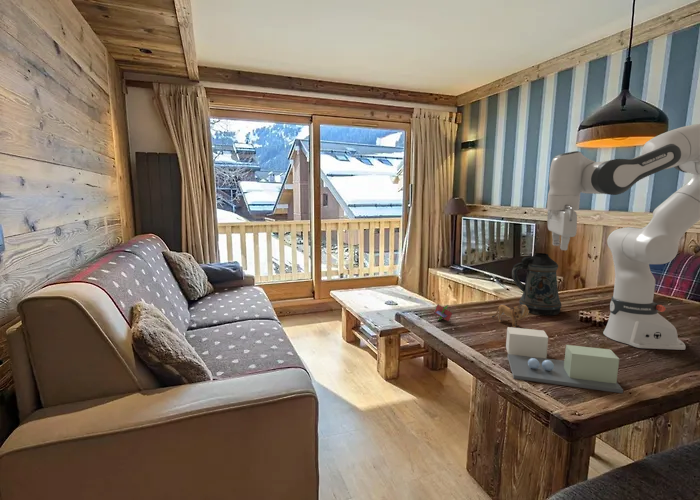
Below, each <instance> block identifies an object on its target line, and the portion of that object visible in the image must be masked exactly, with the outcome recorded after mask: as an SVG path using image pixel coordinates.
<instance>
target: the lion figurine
mask: <svg viewBox="0 0 700 500" xmlns="http://www.w3.org/2000/svg"><path fill="white" fill-rule="evenodd" d="M529 314H530V313H529V310H528V307H527V306H526V305H520V304H519V305H517V306H513V307H508V306H507V305H505V304H500V305H498V307H497V310H496V313H495V314H494V315H492V316H491V318H496V316H497V319H498V323H503V320H502V315H505V316H506V317H507V318H510V319H511V327H513V328H517V327H518V326H519V324H520V323H518V321H521V320H523V319H524V318H527V317H528V315H529Z"/></svg>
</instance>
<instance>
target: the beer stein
mask: <svg viewBox="0 0 700 500" xmlns="http://www.w3.org/2000/svg"><path fill="white" fill-rule="evenodd" d="M520 260H521V262H517V263H516V264H514V265H513V268H512V270H511V276H512V280H513V282H514V284H515V285H516V287H518V289H520V290H521V291H522V294H521V296H520V298H519V301H518V302H519V305H526V306H527V307H528V310H529V313H528V314H531V315H537V316H557V315H559V314H560V313H561V312H560V311H561V308H562V302H561V299H560V294H559V288H558V277H557V270H558V268H559V265H558V263H557V262H556V261H555V260H553V259H552V258H551V257H550V256H549V254H548V253H545V252H542V253H541V252H534V255H531V256H525V257H523V258H521V259H520ZM519 270H527V272H526V277H525V281H524V282H525V283H524V284H523V283H522V281H521V280H520V278H519V276H518V272H519Z"/></svg>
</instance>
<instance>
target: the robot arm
mask: <svg viewBox="0 0 700 500" xmlns="http://www.w3.org/2000/svg"><path fill="white" fill-rule="evenodd" d="M672 168H674V169H675V170H677V171H679V172H682V173H687V174H691V175H692V176H691V179H690V180H689V182H687V183H686V184H684V185H682V186H681V187H680V188H679V189H677V190H676V191H675V192H673V193H672V194H671V195H670V196H668V197H667V199H666V198H665V200H664V201H663V202H662V203H660V204H658V206H657V207H655V208H654V210H653V212H652V218H651V219H650V221H649V222H648V223H647V225H645V226H644V227H641V228H639V227H638V228H637V227H630V226H627V227H621V228H618V229H615V230H613V231H612V232H611V233H610V234H608V236H607V241H606V242H607V243H606V244H607V247H608V249H609V250H610V253H611V256H612V261H613V267H614V286H613V287H614V288H613V295H612V296H611V300H610V302H609V303H610V304H609V311H610V313H609V317H608V320H607V323H606V326H605V327H604V330H603V335H604V336H605V337H607V338H608V339H611V340H613V341H616V342H619V343H623V344H625V345H626V344H627V345H629V346H631V347H635V348H638V349H652V350H653V349H654V350H656V349H657V350H677V351H678V350H679V351H680V350H681V351H682V350H683V351H684V350H686V344H685V343H684V342H683V341H682V340H681V339H680V338H678V331H677V328H676V327H675V326H674V324H672V323H671V322H670V321H669V320H667V319H666V318H665V317H664V316H662V315H661V314H660V313H658V312H661V313H664V312H665V311H666V310H667V309H666V307H665V306H664V305H663V304H658V303H656V302H654V296H655V289H656V278H655V276H654V274H653V273H652V271H651V267H650V265H664V264H667V263H670V262H672V261H673V260H674V259H675V258H676V256H677V254H678V252H679V242H680V240H681V238H682V237H684V235H685V234H686V232H687V231H688V230H689V229H690V228H692V227H693V226H694V225H696V224H697V223H698V222H699V221H700V123H695V124H691V125H684V126H681V127H678V128H674V129H672V130H668V131H666V132H663V133H660V134H659V135H656V136H654V137H652V138H651V139H649V140H648V141H646V142H645V143H644V145H643V146H642V150H641V154H639V155H637V156H635V157H633V158H631V159H628V158H626V159H625V158H615V159H610V160H604V161H597V162H596V160H592V159H590V158H588V157H586V156H585V155H584V154H582V152H581V151H579V150H578V151H577V150H575V151H569V152H564V153H560V154H559V153H558V154H557V155H554V157H553V158H552V159H551V163H550V168H549V177H548V184H549V190H548V194H547V201H546V203H545V209H546V210H547V216H546V218H547V219H546V220H547V221H546V222H547V229H548V231H549V232H551V237H552V245H553V246H554V247H559V249H560V250H561V251H568V249H569V243H570V240H571V238H574V237H576V235H577V231H578V214H577V212H576V211H579V210H580V203H581V202H580V200H581V194H587V195H588V194H593V195H596V194H597V195H598V194H599V195H600V194H601V195H603V194H604V195H611V196H616V195H621V194H624V193H626V192H627V191H628V190H630V189H631V187H633V186H634V185H635V184H636V183H638V182H639V181H641V180H643V179H645V178H647V177H649V176H652V175H653V174H654V175H655V174H656V173H658V172H660V171H662V170H663V171H664V170H668V169H672ZM560 239H561V240H560Z"/></svg>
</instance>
